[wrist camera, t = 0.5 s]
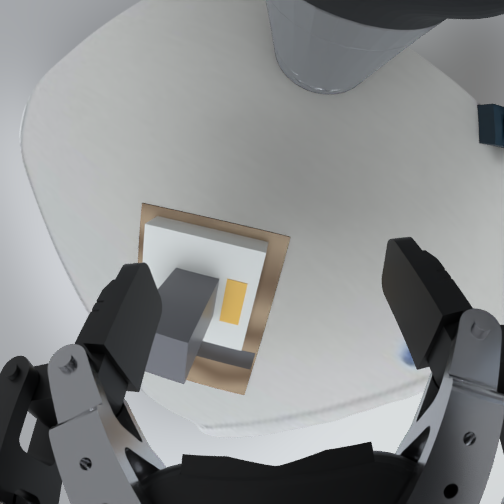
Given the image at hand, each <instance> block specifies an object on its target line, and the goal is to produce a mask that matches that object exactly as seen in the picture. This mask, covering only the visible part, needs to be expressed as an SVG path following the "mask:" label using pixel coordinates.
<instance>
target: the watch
mask: <svg viewBox="0 0 504 504" xmlns="http://www.w3.org/2000/svg"><path fill="white" fill-rule="evenodd" d="M477 106H478V119H479V143H482V144H487V145H492V146H497V147H502V148H504V107H502V106H499V105H496V104H486V105H477Z"/></svg>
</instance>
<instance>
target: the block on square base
mask: <svg viewBox="0 0 504 504" xmlns="http://www.w3.org/2000/svg"><path fill="white" fill-rule="evenodd" d="M267 247H268V242H266V241H262V240H258V239H254V238H250V237H245V236H241V235H237V234H233V233H229V232H224V231H220V230H216V229H212V228H207V227H203V226H199V225H194V224H190V223H186V222H181V221H177V220H173V219H168V218H164V217H160V216H157V217H155V218H153V219H152V220H150V221H149V222H147V223H145V230H144V244H143V261H142V263H143V262H145V263H146V264H147V265H148V266H149V268H150V271H151V274H152V276H153V279H154V281H155V284H156V287H157V289H158V292H159V294H160V297H161V300H162V314H161V318H160V321H159V324H158V327H157V331H156V334H155V337H154V341H153V344H152V347H151V351H150V354H149V358H148V361H147V365H146V368H145V371H146V372H149V373H152V374H155V375H158V376H160V377H163V378H166V379H170V380H173V381H176V382H179V383H182V384H184V383H185V381H186V379H187V376H188V374H189V371H190V369H191V367H192V364H193V362H194V360H195V357H196V355H197V353H198V350H199V348H200V345H201V343H202V341H205V342H209V343H212V344H216V345H220V346H224V347H228V348H231V349H235V350H240V351H241V350H242V347H243V343H244V339H245V335H246V331H247V327H248V323H249V319H250V315H251V312H252V308H253V304H254V300H255V296H256V292H257V288H258V284H259V280H260V276H261V272H262V268H263V264H264V260H265V256H266V251H267Z"/></svg>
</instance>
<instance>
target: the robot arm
mask: <svg viewBox="0 0 504 504" xmlns="http://www.w3.org/2000/svg"><path fill="white" fill-rule="evenodd" d="M266 3H267V9H268V14H269V20H270V25H271V31H272V36H273V43H274V49H275V54H276V58H277V62H278V63H279V65H280V67H281V69H282V71H283V72H284V73H285V74H286V76H287V77H288V78H289V79H291V80H292V81H293V82H294V83H295V84H297V85H299V86H301V87H302V88H304V89H306V90H309V91H312V92H315V93H321V94H337V93H342V92H346V91H348V90H350V89H352V88H354V87H355V86H357V85H358V84H359V83H361V82H362V81H363V80H364V79H366V78H367V77H369V76H370V75H371V74H372V73H374V72H375V71H376V70H378V69H379V68H380V67H381V66H383V65H384V64H385V63H387V62H388V61H389V60H391V59H392V58H393V57H394V56H396V55H397V54H398V53H400V52H401V51H402V50H404V49H405V48H407V47H408V46H409V45H411V44H412V43H413V42H415V41H416V40H417V39H418V38H420V37H421V36H423V35H424V34H425V33H427V32H428V31H430V30H431V29H432V28H434V27H435V26H437V25H438V24H440V23H441V22H442V21H444V20H445V19H447V18H449V19H481V18H488V17H493V16H498V15H501V14H504V0H266ZM382 288H383V292H384V295H385V297H386V299H387V301H388V304H389V306H390V308H391V310H392V312H393V314H394V316H395V319H396V321H397V323H398V325H399V328H400V330H401V332H402V334H403V337H404V339H405V341H406V344H407V346H408V349H409V351H410V353H411V356H412V358H413V361H414V363H415V366H416V368H417V370H418V369H422V368H425V367H430V369H431V372H432V373H431V374H430V376H429V379H428V382H427V385H426V388H425V391H424V393H423V396H422V399H421V402H420V404H419V407H418V410H417V412H416V415H415V417H414V420H413V422H412V425H411V427H410V429H409V430H408V432H407V434H406V435H405V437H404V439H403V440H402V442H401V444H400V445H399V447H398V449H397V451H396V453H395V454H393V453H389V452H382V451H373V448H372V443H371V442H367V443H362V444H358V445H353V446H347V447H342V448H336V449H329V450H325V451H322V452H319V453H317V454H314V455H311V456H308V457H306V458H303V459H300V460H297V461H294V462H290V463H288V464H284V465H280V466H270V465H264V464H259V463H254V462H249V461H244V460H240V459H235V458H231V457H225V456H223V457H222V456H198V455H185V454H183V456H182V464H178V465H174V466H170V467H167V468H166V466H165V465H164V463H163V462H162V461H161V459H160V458H159V457H158V456H157V455H156V453H155V452H154V451H153V450H152V449H151V447H150V446H149V444H148V442H147V441H146V439H145V437H144V435H143V433H142V431H141V430H140V427H139V426H138V424H137V422H136V420H135V418H134V416H133V414H132V412H131V409H130V407H129V405H128V403H127V402H126V400H125V399H124V397H125V393H126V391H135V392H139V391H140V387H141V383H142V379H143V376H144V372H145V368H146V365H147V361H148V358H149V354H150V351H151V347H152V344H153V341H154V337H155V334H156V331H157V327H158V324H159V321H160V318H161V314H162V300H161V297H160V294H159V292H158V289H157V287H156V284H155V281H154V279H153V276H152V274H151V271H150V268H149V266H148V265H147V264H146V263H145V262H143V263H133V264H125V265H123V267H122V268H121V270H120V272H119V274H118V276H117V277H116V279H115V280H112V281H111V282H110V283H109V284H108V285H107V286H106V287H105V288H104V289H103V290H102V292H101V294H100V296H99V297H98V299H97V303H95V305H94V307H93V309H92V312H90V314H89V316H88V318H87V320H86V322H85V324H84V326H83V328H82V330H81V332H80V334H79V336H78V338H77V340H76V342H75V344H70V345H66V346H64V347H62V348H60V349H59V350H58V351H57V352H56V353H55V354H54V355H53V356H52V358H51V359H50V361H49V364H44V365H40V366H33V365H32V364H31V363H30V362H29V361H28V359H27V358H26V357H24V356H17V357H14V358H12V359H11V360H10V361H8V362H7V363H6V365H5V366H4V367H3V369H2V371H1V373H0V504H58V503H59V497H60V491H61V485H62V482H63V485H64V487H65V490H66V493H67V495H68V498H69V501H70V503H71V504H479V503H480V500H481V498H482V495H483V492H484V490H485V487H486V484H487V481H488V478H489V475H490V472H491V468H492V465H493V462H494V458H495V454H496V450H497V446H498V442H499V438H500V441H501V445H502V449H503V453H504V325H500V324H499V323H498V321H497V320H496V318H495V317H494V316H493V315H491V314H490V313H488V312H487V311H484V310H481V309H473V308H472V306H471V305H470V303H469V302H468V300H467V299H466V298H465V296H464V295H463V293H462V292H461V290H460V289H459V287H458V286H457V285H456V283H455V282H454V280H453V279H451V276H450V275H449V274H448V272H447V271H445V268H444V267H443V266H442V264H441V263H440V262H439V260H438V259H437V258H436V257H434V256H433V255H431V254H430V253H428V252H427V251H426V250H424V251H422V250H421V248H420V247H419V246H418V245H417V243H416V242H415V241H414V240H413V238H411V237H405V238H395V239H390V240H389V241H388V244H387V249H386V256H385V262H384V268H383V274H382ZM27 411H28V412H29V413H31V414H32V415H33V416H34V417H35V418H37V421H36V424H35V428H34V431H33V434H32V438H31V441H30V445H29V449H28V452H27V453H26V452H25V451H23V449H22V448H21V446H20V443H19V437H20V433H21V430H22V427H23V423H24V420H25V417H26V414H27ZM501 504H504V498H503V499H502V502H501Z"/></svg>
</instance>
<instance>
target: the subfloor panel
mask: <svg viewBox="0 0 504 504" xmlns="http://www.w3.org/2000/svg"><path fill="white" fill-rule="evenodd" d="M157 216H160V217H164V218H168V219H173V220H177V221H181V222H186V223H190V224H194V225H199V226H203V227H207V228H212V229H216V230H220V231H224V232H229V233H233V234H237V235H241V236H245V237H250V238H254V239H258V240H262V241H266V242H268V247H267V251H266V256H265V260H264V264H263V268H262V272H261V276H260V280H259V284H258V288H257V292H256V296H255V300H254V304H253V308H252V312H251V315H250V319H249V323H248V327H247V331H246V335H245V339H244V343H243V347H242V350H241V351H240V350H235V349H231V348H228V347H224V346H220V345H216V344H212V343H209V342H205V341H202V343H201V345H200V348H199V350H198V353H197V355H196V357H195V360H194V362H193V364H192V367H191V369H190V371H189V374H188V376H187V379H186V380H189V381H192V382H195V383H199V384H203V385H206V386H210V387H214V388H217V389H221V390H225V391H229V392H233V393H238V394H242V395H244V394H245V391H246V388H247V384H248V381H249V378H250V375H251V372H252V368H253V365H254V362H255V359H256V355H257V352H258V349H259V346H260V342H261V339H262V336H263V332H264V329H265V326H266V322H267V319H268V315H269V312H270V309H271V305H272V302H273V298H274V295H275V291H276V288H277V284H278V281H279V277H280V273H281V270H282V266H283V263H284V259H285V255H286V252H287V248H288V244H289V241H290V237H289V236H284V235H280V234H276V233H272V232H268V231H264V230H260V229H255V228H251V227H247V226H243V225H239V224H234V223H230V222H226V221H221V220H217V219H213V218H208V217H204V216H199V215H195V214H191V213H186V212H182V211H177V210H173V209H168V208H163V207H159V206H154V205H150V204H145V203H142V209H141V221H140V235H139V252H138V263H142V261H143V244H144V230H145V223H147V222H149V221H150V220H152V219H153V218H155V217H157Z"/></svg>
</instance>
